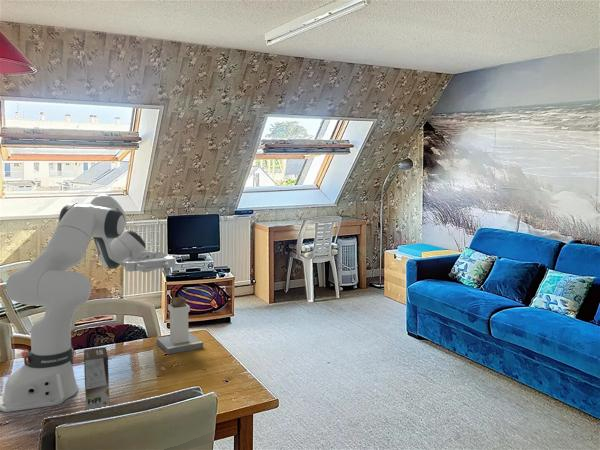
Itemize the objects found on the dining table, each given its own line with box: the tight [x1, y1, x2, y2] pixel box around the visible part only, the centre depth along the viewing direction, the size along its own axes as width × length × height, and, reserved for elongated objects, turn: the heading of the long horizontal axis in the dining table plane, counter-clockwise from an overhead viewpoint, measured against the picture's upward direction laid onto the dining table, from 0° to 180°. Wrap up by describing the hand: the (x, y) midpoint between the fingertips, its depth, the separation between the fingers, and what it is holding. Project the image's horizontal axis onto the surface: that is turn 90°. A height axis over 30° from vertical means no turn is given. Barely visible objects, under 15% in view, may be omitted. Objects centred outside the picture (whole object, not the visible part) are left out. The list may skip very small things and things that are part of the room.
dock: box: [156, 332, 204, 355], centre depth 205 cm, size 14×14×2 cm
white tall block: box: [167, 303, 191, 344], centre depth 204 cm, size 6×6×14 cm
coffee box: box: [83, 346, 110, 411], centre depth 154 cm, size 9×6×16 cm
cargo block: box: [171, 296, 187, 308], centre depth 203 cm, size 4×4×4 cm
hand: (155, 267), depth 207 cm, fingers open, 8 cm apart
